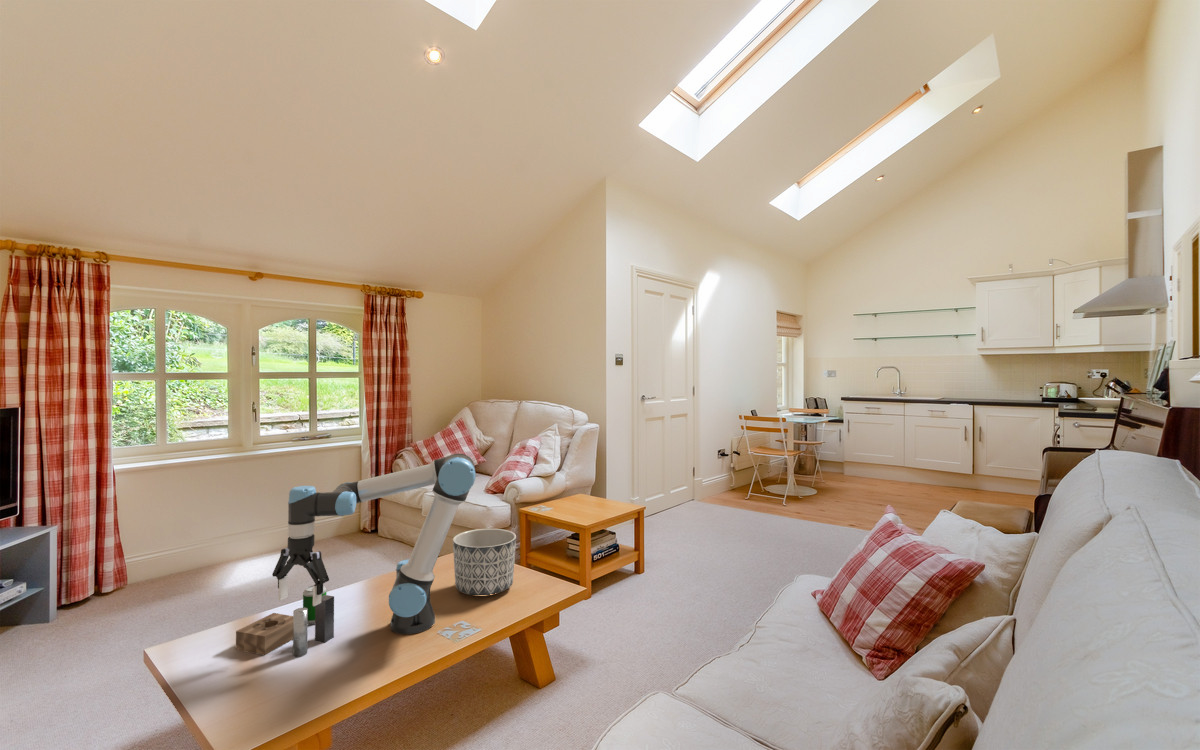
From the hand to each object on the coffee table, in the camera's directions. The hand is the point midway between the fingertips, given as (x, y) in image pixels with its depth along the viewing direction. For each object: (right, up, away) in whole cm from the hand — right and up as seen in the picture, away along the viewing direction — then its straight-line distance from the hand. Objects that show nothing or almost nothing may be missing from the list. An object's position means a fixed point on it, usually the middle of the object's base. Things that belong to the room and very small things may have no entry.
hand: (299, 601), depth 170 cm
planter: (+48, -18, +53) cm, 73 cm away
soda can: (-8, -17, +23) cm, 30 cm away
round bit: (0, -17, 0) cm, 17 cm away
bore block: (-14, -17, +7) cm, 23 cm away
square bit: (+3, -17, +10) cm, 20 cm away
